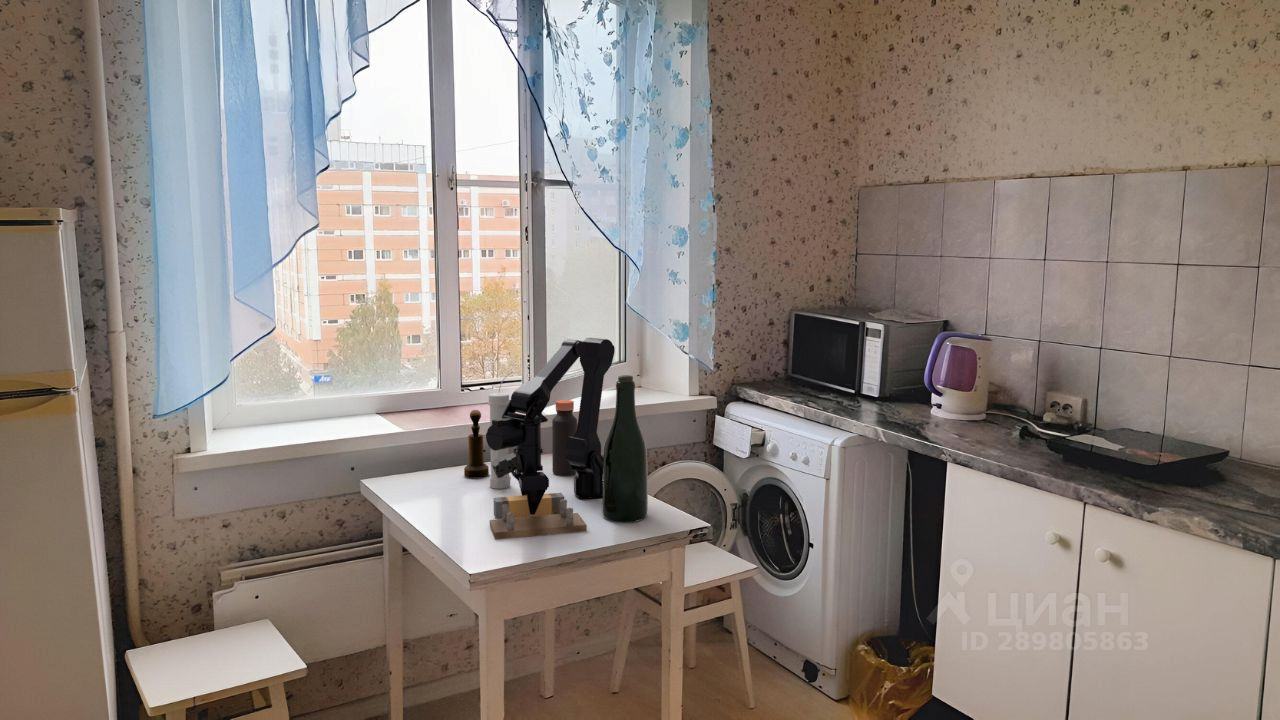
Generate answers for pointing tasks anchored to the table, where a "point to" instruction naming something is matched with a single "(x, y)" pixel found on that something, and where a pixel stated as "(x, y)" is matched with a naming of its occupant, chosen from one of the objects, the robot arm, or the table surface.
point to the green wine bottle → (625, 460)
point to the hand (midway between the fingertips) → (529, 508)
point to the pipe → (497, 409)
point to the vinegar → (562, 436)
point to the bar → (520, 505)
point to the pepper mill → (476, 450)
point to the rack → (537, 523)
